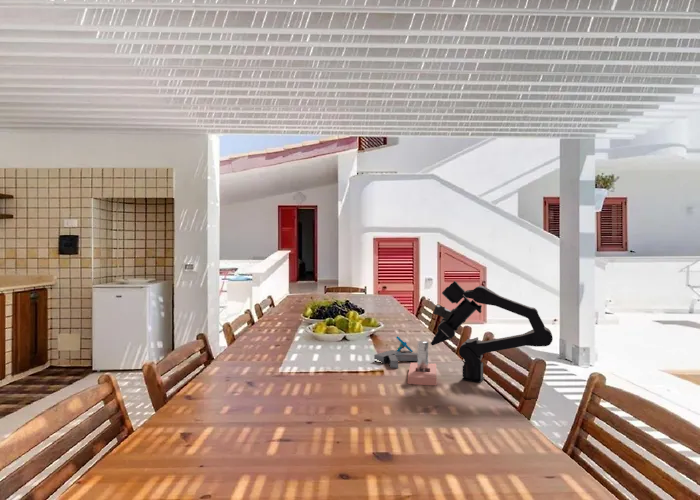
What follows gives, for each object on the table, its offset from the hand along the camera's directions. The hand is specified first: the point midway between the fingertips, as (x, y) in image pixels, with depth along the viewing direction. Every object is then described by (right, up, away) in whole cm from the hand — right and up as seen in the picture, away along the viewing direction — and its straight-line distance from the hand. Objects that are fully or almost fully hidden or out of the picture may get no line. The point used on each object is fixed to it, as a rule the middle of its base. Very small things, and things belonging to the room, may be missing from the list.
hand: (432, 342), depth 168 cm
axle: (-4, -13, -1) cm, 13 cm away
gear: (-6, -13, +38) cm, 41 cm away
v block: (-12, -13, +20) cm, 27 cm away
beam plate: (-4, -13, -1) cm, 13 cm away
